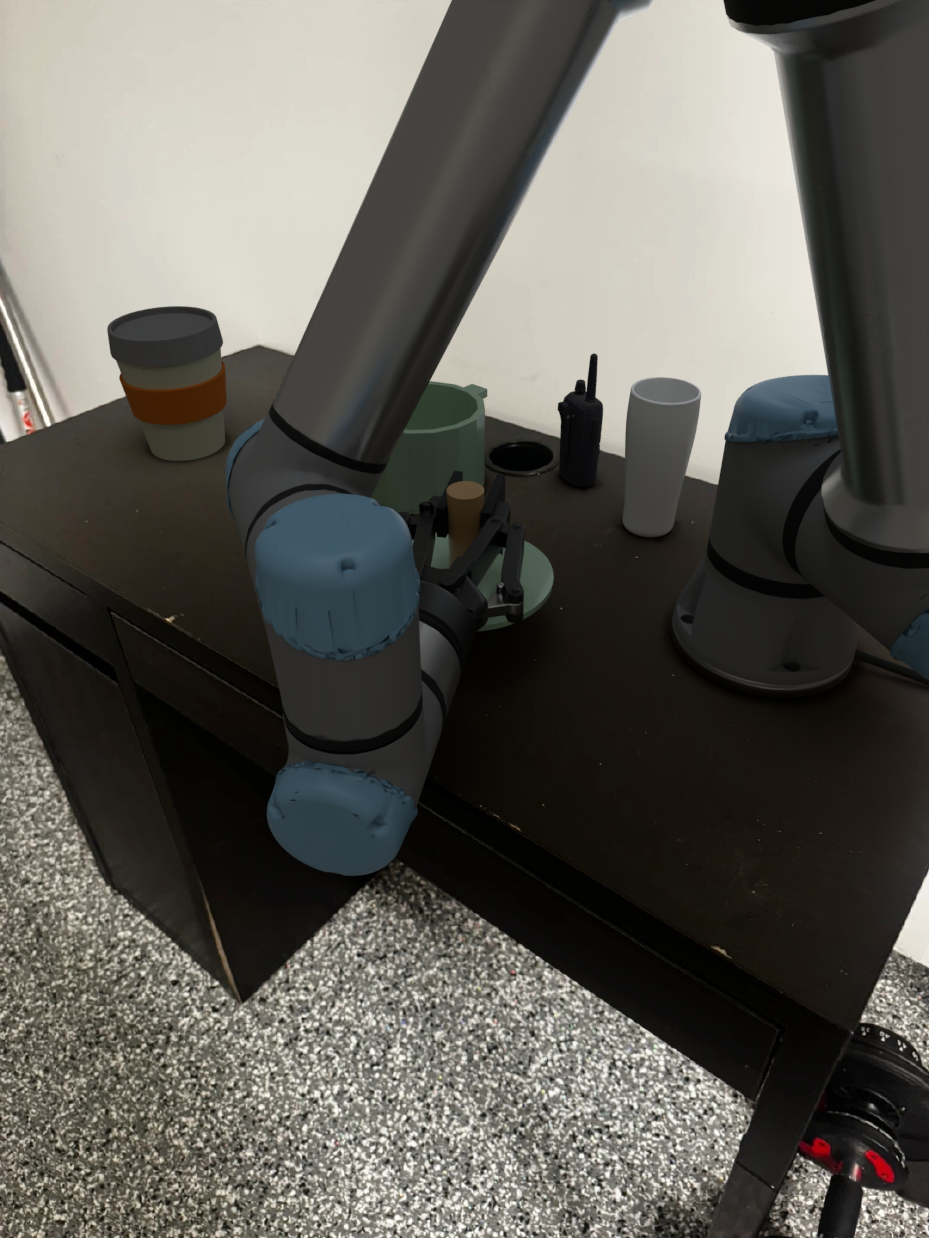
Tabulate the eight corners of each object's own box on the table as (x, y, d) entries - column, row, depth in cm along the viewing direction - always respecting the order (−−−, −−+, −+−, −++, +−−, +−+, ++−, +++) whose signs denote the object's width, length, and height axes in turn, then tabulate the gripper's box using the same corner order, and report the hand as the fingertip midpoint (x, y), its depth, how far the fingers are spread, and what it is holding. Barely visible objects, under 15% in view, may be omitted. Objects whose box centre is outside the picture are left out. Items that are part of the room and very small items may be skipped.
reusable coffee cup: (154, 422, 115) (127, 305, 106) (250, 423, 114) (231, 305, 105) (120, 467, 105) (86, 341, 96) (225, 468, 104) (201, 342, 95)
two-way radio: (602, 487, 100) (614, 356, 91) (567, 495, 98) (576, 363, 89) (577, 466, 104) (586, 340, 95) (543, 474, 102) (550, 346, 93)
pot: (523, 474, 102) (526, 396, 97) (406, 538, 91) (401, 454, 86) (438, 440, 110) (436, 365, 104) (320, 495, 99) (311, 415, 93)
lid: (588, 580, 76) (595, 485, 70) (473, 662, 67) (472, 561, 62) (461, 522, 84) (460, 433, 78) (345, 589, 75) (333, 494, 70)
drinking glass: (686, 543, 90) (709, 404, 81) (619, 544, 90) (635, 404, 81) (673, 510, 96) (694, 376, 87) (610, 510, 96) (624, 376, 87)
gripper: (298, 684, 62) (392, 516, 80) (527, 716, 59) (570, 533, 77) (283, 596, 57) (386, 439, 75) (530, 626, 54) (575, 455, 72)
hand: (479, 487), depth 76 cm, fingers closed on lid, 3 cm apart
